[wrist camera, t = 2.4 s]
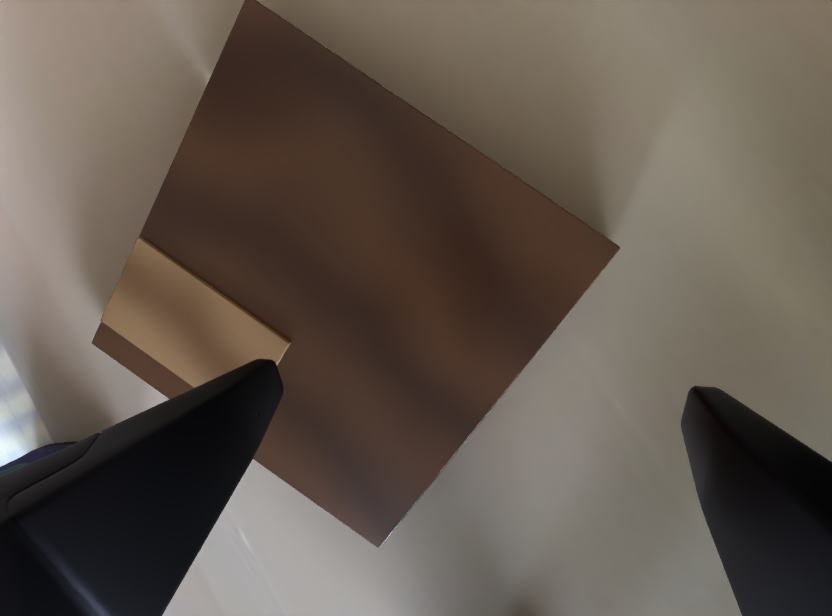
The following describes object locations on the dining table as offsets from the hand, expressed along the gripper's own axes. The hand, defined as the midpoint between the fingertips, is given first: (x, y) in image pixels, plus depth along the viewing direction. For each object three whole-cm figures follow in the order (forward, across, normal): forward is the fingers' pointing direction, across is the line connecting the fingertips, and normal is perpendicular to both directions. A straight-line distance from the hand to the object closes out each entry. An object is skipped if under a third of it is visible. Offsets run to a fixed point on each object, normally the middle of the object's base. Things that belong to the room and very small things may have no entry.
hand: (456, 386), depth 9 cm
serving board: (+12, +10, +4) cm, 16 cm away
